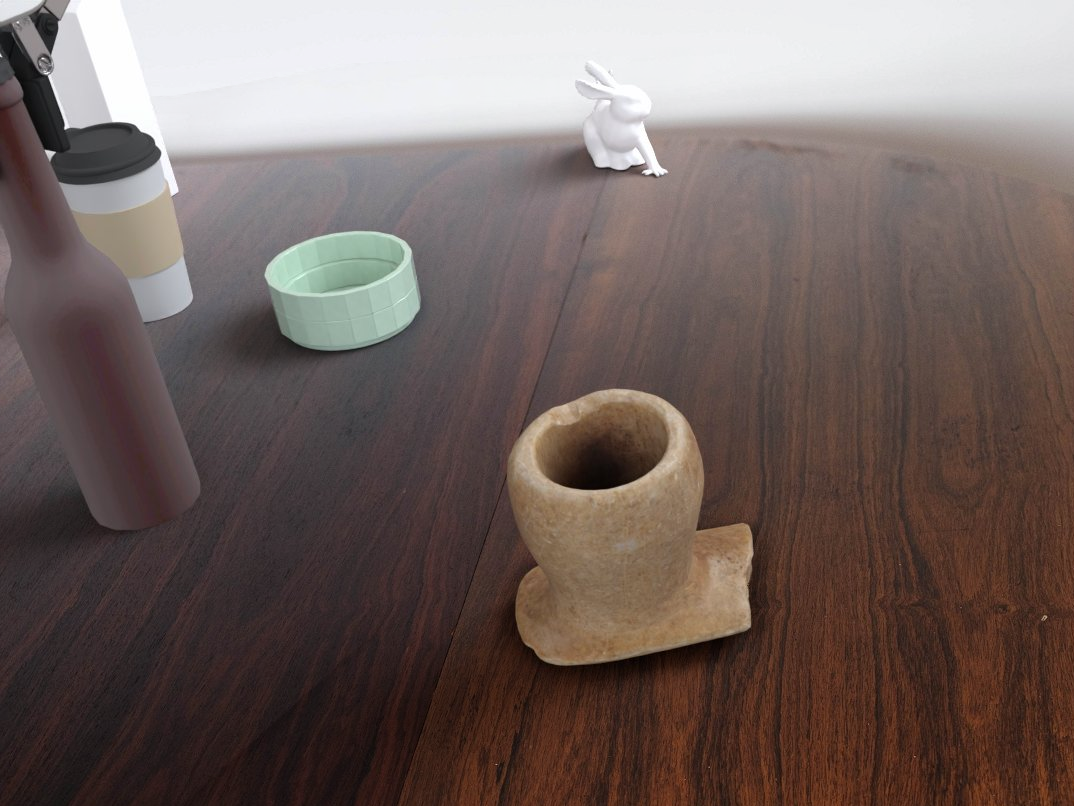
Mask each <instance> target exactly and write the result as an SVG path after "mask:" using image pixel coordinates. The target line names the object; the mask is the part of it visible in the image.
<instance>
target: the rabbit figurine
mask: <svg viewBox="0 0 1074 806" xmlns="http://www.w3.org/2000/svg"><path fill="white" fill-rule="evenodd" d="M584 70H585V72H586V73H587V74H589V75H590V76H592V77H593V78H595V82H596V83H594V82H590V81H587V80H584V79H579V78H578V79H576V80H575V82H574V83H575V84H574V85H575V89H576V91H577V93H578V94H579V95H581V96H582V97H584V98H586V99H588V100H596V102H595V105H594V106H593V111H591V112H590V113H589V114H588V116H586V117H585V118H584V119H583V121H582V136H583V140H584V144H585V147H586V149H587V150H586V151H587V152H588V154H589V155H590V157H591V159H592V161H593V163H594V166H595V167H597V168H611V169H614V170H616V171H623V170H628V169H629V168H630V167H631V166H639V165H643V164H646V166H647V167H648V168H647V169H644V170H643V171H642V172H641V174H644V175H645V176H649V175H651V174H654V175H655V176H656V177H660V176H663V175H665V174H669V172H668V171H667V169H664V168H662V166H660V165H659V162H658V160H657V157H656V155H655V151H654V149H653V146H652V144H651V142H650V140H649V137H648V135H647V132H646V129H645V125H644V122H643V120H644V119H646V118H647V117H649V116H650V114H651V111H652V110H651V109H652V101H651V99H650V97H649V96H648V94H647V93H646V92H645V91H643V90H642V89H641V88H639V87H638V86H636V85H633V84H619V83H617V81H616V80H615V79H614V77H613V76H614V74H613V70H612V69H611V68H610V69H609V70H608V71H607V70H606V69H605V68H604V67H602V66H601V65H598V64H597V63H596V62H594V61H593V60H588V61H586V62H585V64H584Z"/></svg>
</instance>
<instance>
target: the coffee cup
mask: <svg viewBox="0 0 1074 806" xmlns="http://www.w3.org/2000/svg"><path fill="white" fill-rule="evenodd" d="M64 129H65V128H64ZM65 132H66V134H67V137H68V140H69V143H70V146H71V148H70V150H68V151H66V152H64V153H58V152H54V154H53V155H52V156H51V157H50V159H49V161H50V163H51V166H52V168H53V170H54V173H55V175H56V177H57V179H58V182H59V184H60V186H61V188H62V191H63V193H64V195H65V198H66V200H67V202H68V204H69V207H70V209H71V211H72V214H73V216H74V218H75V220H76V223H77V225H78V227H79V229H80V231H81V233H82V234H83V236H84V237H85V239H86V240H87V241H88V242H89V243H90V244H91V245H93V246H94V247H95V248H97V249H98V250H100V251H101V252H102V253H104V254H105V255H106V256H107V257H108V258H110V259H111V260H112V261H113V262H114V263H115V264H116V265H117V266H118V267H119V268H120V270H121V271H122V272H123V274H124V275H125V277H126V278H127V280H128V282H129V284H130V287H131V289H132V292H133V294H134V297H135V300H136V303H137V306H138V308H139V311H140V314H141V317H142V320H143V322H144V323H149V322H156V321H160V320H164V319H166V318H170V317H172V316H174V315H176V314H177V315H178V314H179V313H181V312H182V311H183V310H185V309H186V308H187V307H189V306H190V305H191V303H192V302H193V299H194V294H193V291H192V287H191V282H190V278H189V273H188V269H187V266H186V265H187V264H186V261H185V257H184V252H185V249H184V246H183V245H184V244H183V241H182V236H181V232H180V228H179V227H180V226H179V223H178V219H177V215H176V211H175V206H174V202H173V198H172V197H173V196H172V197H171V192H170V188H169V184H168V181H167V180H166V179H165V177H164V172H163V168H162V164H161V160H160V157H161V150H160V149H159V148H158V147H157V146H156V144H155V140H154V138H153V137H151V136H150V135H149V134H147V133H144V132H141V131H140V130H139V129H138V128H137V126H135V125H134V124H131V123H126V122H110V123H102V124H96V125H92V126H88V127H85V128H81V129H80V128H70V127H68V128H66V129H65Z"/></svg>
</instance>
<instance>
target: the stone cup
mask: <svg viewBox="0 0 1074 806" xmlns="http://www.w3.org/2000/svg"><path fill="white" fill-rule="evenodd" d="M506 484H507V490H508V491H507V493H508V496H509V500H510V504H511V509H512V512H513V517H514V520H515V524H516V527H517V529H518V532H519V534H520V537H521V538H522V540H523V542H524V544H525V546H526V547H527V549H528V551H529V552H530V554H531V556H532V558H533V559H534V560H535V563H536V564H537V566H535V567H534V568H532V569H531V570H530V571H528V572H527V573H525V575H524V577H523V578H522V579H521V581H520V583H519V585H518V589H517V593H516V597H515V621H516V625H517V631H518V633H519V636H520V638H521V641H522V642H523V643H524V645H526V646H527V647H529V648H530V649H532V651H533V650H534V653H535V654H536V656H537V657H538V658H539V659H540V660H542V661H543V662H545V663H547V664H552V665H555V666H581V665H595V664H602V663H609V662H615V661H621V660H625V659H626V660H627V659H630V658H631V659H632V658H635V657H640V656H645V655H649V654H654V653H659V652H663V651H669V650H674V649H679V648H682V647H685V646H690V645H695V644H699V643H702V642H709V641H712V640H717V639H721V638H725V637H729V636H733V635H736V634H737V635H738V634H740V633H743V632H747V631H748V630H749V629H750V628H751V627H752V615H751V606H750V605H751V604H750V601H749V597H750V594H749V591H750V590H749V584H748V583H750V580H751V575H752V572H753V565H752V559H753V556H754V543H753V533H752V531H751V527H750V526H749V524H747V523H744V522H740V523H735V524H730V525H724V526H719V527H714V528H707V529H700V530H697V528H698V524H699V523H698V522H699V517H700V513H701V512H700V511H701V507H702V502H703V497H704V488H705V487H704V486H705V472H704V463H703V459H702V455H701V452H700V447H699V445H698V441H697V439H696V437H695V434H694V432H693V429H692V427H691V425H690V423H689V422H688V420H687V418H686V417H685V415H683V413H681V411H679V410H678V409H677V408H675V406H673V405H672V404H671V403H670V402H669V401H667V400H665V399H663V398H662V397H659V396H658V395H656V394H652V393H648V392H645V391H641V390H640V391H639V390H635V389H625V388H610V389H609V388H608V389H603V390H597V391H594V392H591V393H587V394H585V395H583V396H581V397H579V398H576V399H574V400H572V401H570V402H567V403H565V404H561V405H557V406H553V407H551V408H550V409H548V410H546V411H545V412H543V413H541V414H540V415H538V417H536V418H535V419H533V420H532V422H531V423H530V424H529V425H528V426H527V427H525V429H524V430H523V432H522V433H521V434H520V436H519V437H518V438H517V439H516V441H515V442H514V444H513V446H512V449H511V451H510V454H509V456H508V459H507V470H506ZM747 585H748V586H747Z"/></svg>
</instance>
